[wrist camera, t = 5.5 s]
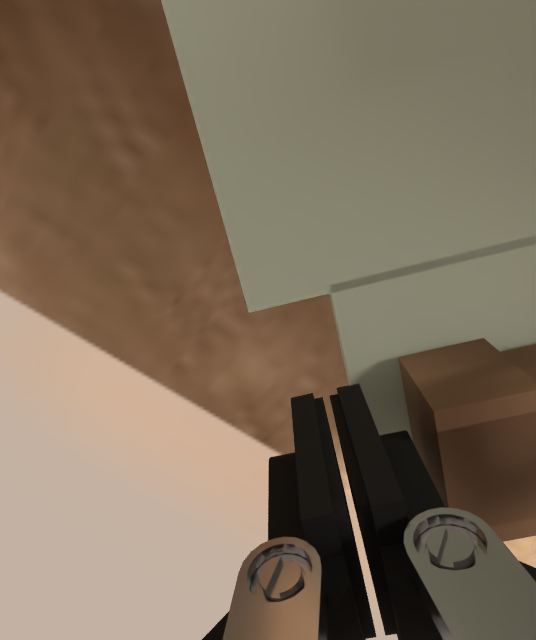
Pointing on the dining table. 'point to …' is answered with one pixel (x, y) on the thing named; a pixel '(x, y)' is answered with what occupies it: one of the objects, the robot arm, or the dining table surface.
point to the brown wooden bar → (477, 429)
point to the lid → (374, 167)
